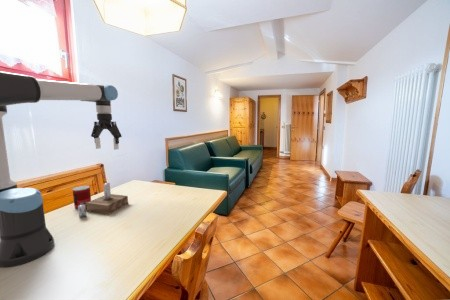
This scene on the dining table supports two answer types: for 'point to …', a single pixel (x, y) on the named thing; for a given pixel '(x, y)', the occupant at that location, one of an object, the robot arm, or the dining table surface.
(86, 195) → the canned food
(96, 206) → the hole block
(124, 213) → the dining table surface
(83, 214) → the short pin
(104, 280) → the dining table surface
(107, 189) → the long pin
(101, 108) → the robot arm
